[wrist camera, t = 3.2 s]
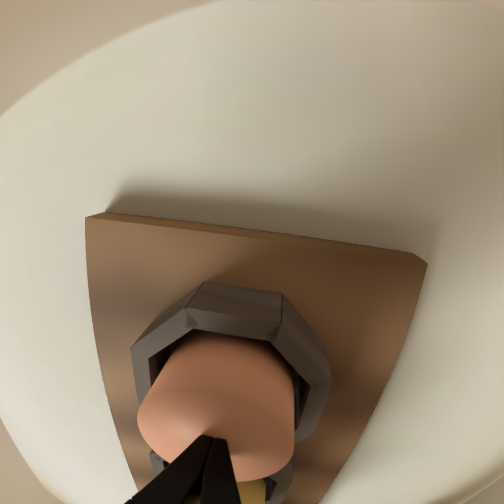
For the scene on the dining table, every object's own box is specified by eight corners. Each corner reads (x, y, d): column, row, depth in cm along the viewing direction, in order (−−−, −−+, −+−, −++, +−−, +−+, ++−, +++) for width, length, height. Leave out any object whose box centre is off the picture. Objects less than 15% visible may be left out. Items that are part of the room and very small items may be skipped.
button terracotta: (282, 418, 12) (278, 488, 8) (176, 399, 12) (147, 462, 8) (304, 328, 11) (311, 402, 7) (174, 308, 11) (127, 368, 7)
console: (297, 516, 18) (296, 548, 14) (147, 490, 19) (135, 519, 16) (413, 253, 11) (455, 284, 8) (103, 212, 12) (49, 228, 9)
